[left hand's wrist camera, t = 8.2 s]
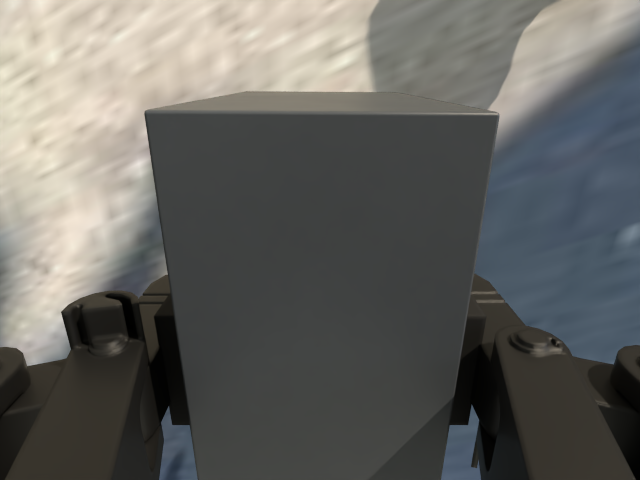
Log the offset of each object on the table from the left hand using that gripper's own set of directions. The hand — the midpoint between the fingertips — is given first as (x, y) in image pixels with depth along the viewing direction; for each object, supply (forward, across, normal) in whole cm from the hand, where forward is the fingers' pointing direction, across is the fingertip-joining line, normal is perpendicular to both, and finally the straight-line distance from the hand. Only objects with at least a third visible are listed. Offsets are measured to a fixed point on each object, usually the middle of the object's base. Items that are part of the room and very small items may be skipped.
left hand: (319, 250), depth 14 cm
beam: (+1, 0, -24) cm, 24 cm away
